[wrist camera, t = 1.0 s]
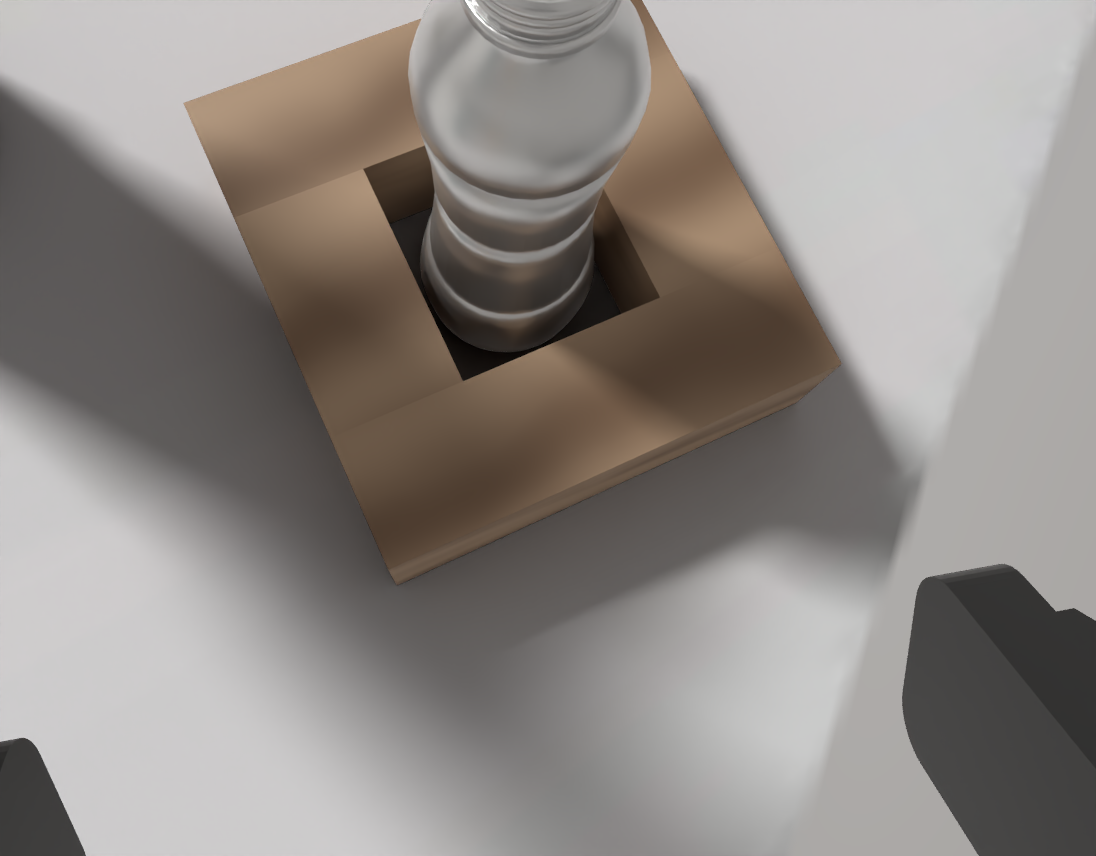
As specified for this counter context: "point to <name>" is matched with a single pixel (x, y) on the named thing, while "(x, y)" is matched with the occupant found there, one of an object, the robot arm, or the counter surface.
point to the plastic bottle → (521, 155)
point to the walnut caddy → (533, 379)
